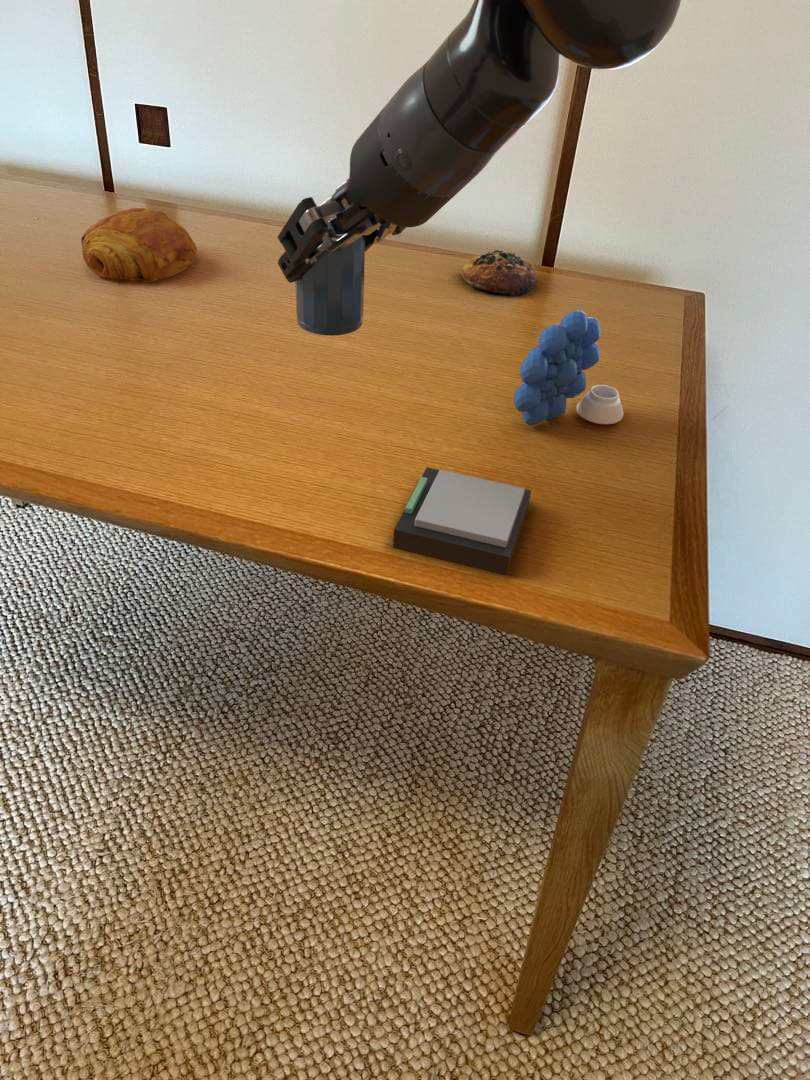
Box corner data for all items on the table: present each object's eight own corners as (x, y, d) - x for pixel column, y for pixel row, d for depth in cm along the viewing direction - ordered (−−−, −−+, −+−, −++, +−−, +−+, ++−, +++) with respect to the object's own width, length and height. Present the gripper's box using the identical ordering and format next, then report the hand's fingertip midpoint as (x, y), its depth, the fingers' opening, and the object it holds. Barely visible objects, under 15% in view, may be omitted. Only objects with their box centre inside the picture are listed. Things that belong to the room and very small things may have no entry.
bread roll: (517, 301, 111) (518, 264, 109) (446, 292, 116) (446, 256, 114) (549, 281, 119) (552, 245, 116) (482, 272, 124) (482, 238, 121)
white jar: (570, 419, 88) (614, 432, 87) (575, 395, 86) (621, 408, 85) (583, 399, 92) (626, 411, 90) (589, 376, 90) (633, 388, 88)
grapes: (555, 387, 94) (575, 286, 86) (600, 412, 90) (625, 309, 82) (483, 417, 88) (497, 311, 80) (528, 445, 84) (548, 337, 76)
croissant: (71, 283, 113) (51, 227, 108) (147, 237, 122) (132, 183, 117) (148, 307, 108) (132, 249, 102) (222, 257, 117) (211, 201, 111)
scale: (392, 547, 70) (394, 521, 68) (424, 484, 77) (427, 459, 76) (506, 575, 68) (511, 549, 66) (528, 507, 75) (532, 483, 74)
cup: (288, 330, 70) (284, 231, 65) (307, 304, 75) (304, 209, 69) (354, 339, 70) (355, 239, 64) (368, 312, 74) (371, 216, 69)
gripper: (468, 83, 60) (355, 206, 74) (323, 107, 52) (226, 241, 65) (515, 176, 61) (394, 281, 74) (379, 215, 53) (271, 325, 66)
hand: (316, 262), depth 70 cm, fingers closed on cup, 6 cm apart
